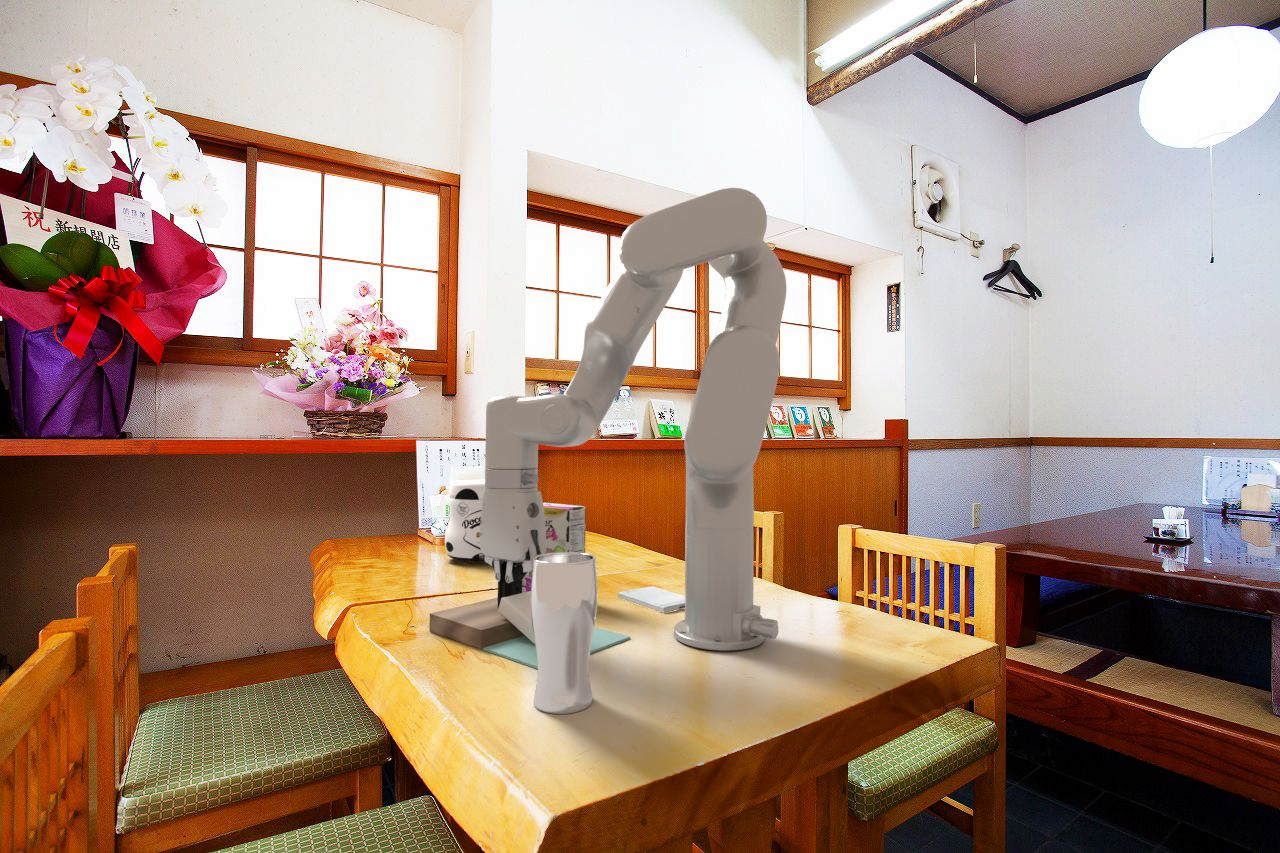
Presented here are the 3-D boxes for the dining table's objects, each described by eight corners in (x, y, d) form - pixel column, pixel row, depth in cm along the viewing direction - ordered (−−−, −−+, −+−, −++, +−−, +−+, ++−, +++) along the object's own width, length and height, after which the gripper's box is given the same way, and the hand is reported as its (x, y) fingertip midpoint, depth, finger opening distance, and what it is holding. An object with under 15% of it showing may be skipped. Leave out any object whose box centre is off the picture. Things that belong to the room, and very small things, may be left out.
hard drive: (617, 591, 108) (663, 606, 98) (654, 585, 113) (700, 599, 103) (617, 601, 108) (663, 617, 98) (654, 594, 113) (701, 609, 103)
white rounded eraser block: (570, 636, 85) (574, 623, 85) (538, 647, 80) (542, 633, 80) (530, 602, 90) (534, 590, 90) (497, 610, 86) (501, 597, 85)
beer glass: (532, 689, 67) (534, 551, 68) (596, 687, 68) (597, 551, 68) (526, 717, 60) (528, 563, 61) (597, 715, 61) (598, 563, 61)
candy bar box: (517, 598, 107) (518, 503, 107) (536, 592, 111) (537, 501, 112) (567, 608, 101) (568, 507, 101) (586, 601, 105) (587, 505, 106)
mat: (630, 638, 85) (630, 636, 85) (543, 671, 73) (543, 668, 73) (571, 622, 92) (571, 620, 92) (483, 650, 80) (483, 647, 80)
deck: (569, 622, 93) (569, 605, 93) (481, 649, 80) (481, 629, 80) (517, 608, 100) (517, 593, 100) (429, 631, 88) (429, 613, 88)
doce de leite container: (481, 570, 130) (482, 485, 131) (428, 561, 140) (429, 481, 140) (537, 558, 145) (538, 481, 145) (485, 550, 154) (486, 478, 155)
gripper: (566, 482, 88) (564, 611, 87) (499, 478, 97) (498, 595, 97) (525, 484, 82) (523, 623, 81) (459, 480, 91) (457, 604, 91)
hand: (509, 607), depth 89 cm, fingers closed
